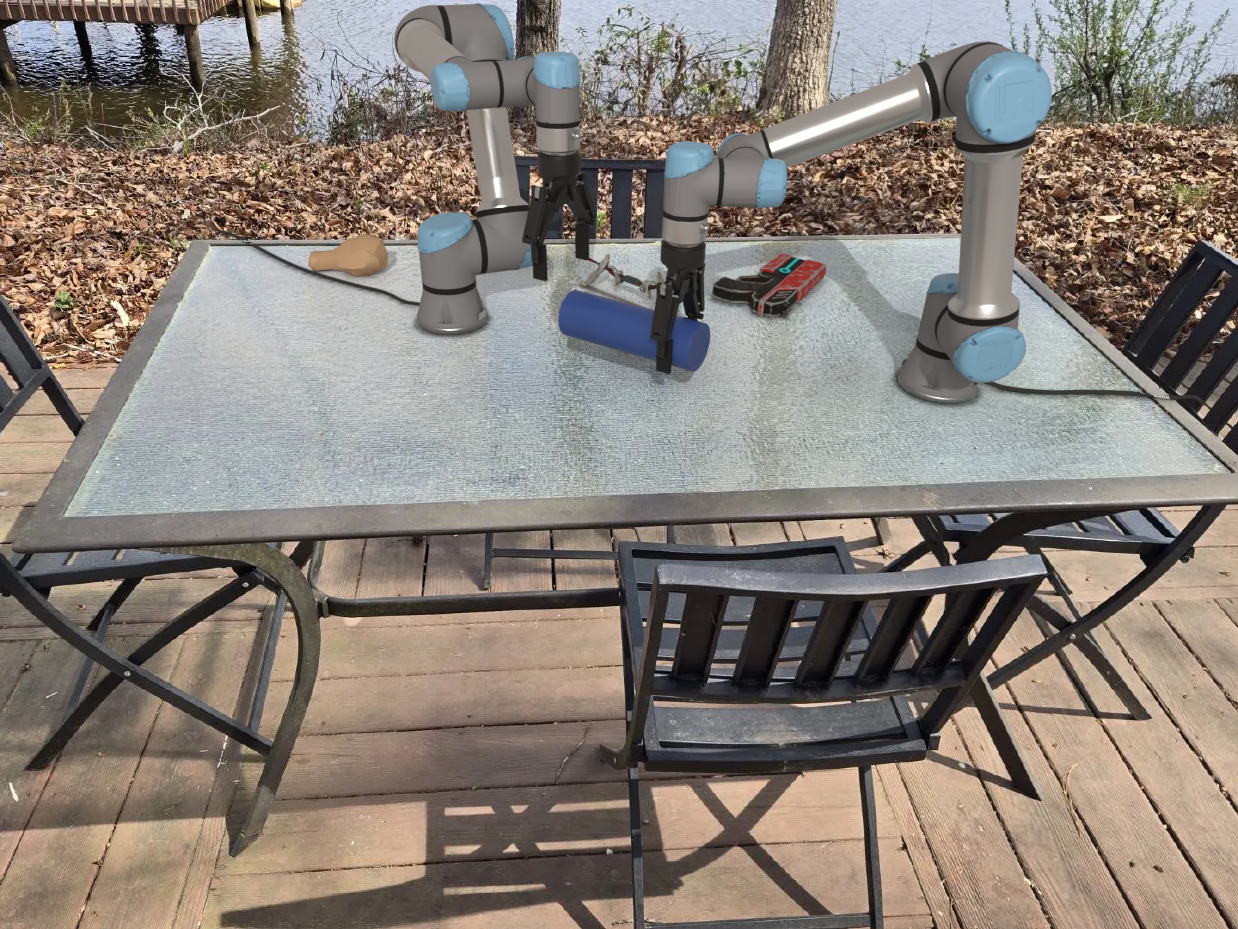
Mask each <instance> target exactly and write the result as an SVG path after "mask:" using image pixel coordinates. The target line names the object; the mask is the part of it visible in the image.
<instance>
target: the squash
mask: <svg viewBox="0 0 1238 929" xmlns="http://www.w3.org/2000/svg"><path fill="white" fill-rule="evenodd" d="M388 263H389V253H388V251H387V248H386V246H385V242H384V239H382V238H381V237H378V236H374V235H372V234H366V233H363V234H361V235H358V236H355V237H349V238H346V239H345V240H344V241H342V242H341V243H340V245H339V246H336V247H335V248H333V249H327V250H313V251H310V253H309V256H308V267H310V270H311V271H314V272H319V271H323V270H335V271H342V272H343V273H345V274H347V275H348V274H349V275H351V276H353V277H369V276H371V275H374V274H375V273H377V272H379V271H381V270H384V269H385V268H386V267H388Z"/></svg>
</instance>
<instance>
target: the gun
mask: <svg viewBox="0 0 1238 929" xmlns="http://www.w3.org/2000/svg"><path fill="white" fill-rule="evenodd" d="M826 273H827V264H826V263H823V262H820V261H816V260H812V259H802V258H799V257H795V256H793V255H792V254H791V253H784V252H780V253H778V254H777V255H775V256H774V257H773V258H771V259H770V260H768V261H767V262H766V263H765V264H763V265H762V266H761V267H760V269H759V271H758V273H757V274H756V275H753V274H752V275H751V274H750V275H740V276H738V277H737V278H735V279H734V278H731V277H727V276H722V277H720V279H717V281H715V282H713V283H712V291H711V297H713V298H714V299H716V300H719V301H723V302H727V303H730V304H750V305H749V308H750V310H751V312H753V313H755V314H757V315H758V316H760V317H761V316H765V317H770V318H771V317H777V316H780V317H784V318H787V317H788V315H789V311H788V310H790V309H791V308H792V307H793V306H794V305H795V304H798V303H799V302H801V301H802V300H803V299H804V298H805V297H807V296H808V295H809V294H810V293H811V292H812V291H813V290H814V289H815V287H817V285H818V284H820V283H821V282H822V280H823V279H824V278H825V276H826Z"/></svg>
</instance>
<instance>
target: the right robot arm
mask: <svg viewBox="0 0 1238 929" xmlns="http://www.w3.org/2000/svg"><path fill="white" fill-rule="evenodd" d="M1052 96H1053V90H1052V83H1051V80H1050V77H1049V75H1048V73H1047V71H1046V70H1045V69H1044V68H1043V66H1042V65H1041V64H1039V63H1038V61H1037V60H1035V59H1034V58H1033V57H1032V56H1030V55H1028V54H1026V53H1024V52H1022V51H1017V50H1013V49H1011V48H1008V47H1006V46H1004V45H1003V44H1001V43H998V42H994V41H989V40H986V41H984V40H983V41H975V42H974V41H973V42H971V43H966V44H963V45H961V46H958V47H955V48H953V49H949V50H946V51H944V52H942V53H940V54H937V55H935V56H933V57H929V58H927V59H925V60H922V61H919V62H917V63H915V64H913V65H912V66H911V68H910V69H909V71H908V72H907V73H906V74H904V75H903V74H902V75H901V76H898V77H896V78H893V79H891V80H889V81H886V82H882V83H880V84H878V85H877V84H876V85H875V86H872V87H869V88H867V89H865V90H861V91H859V92H857V93H854V94H852V95H849V96H847V97H844V98H841V99H838V100H836V101H833V102H829V103H828V104H826V105H823V106H820V107H818V108H815V109H812V110H809V111H807V112H804V113H802V114H799V115H796V116H794V117H792V118H791V117H790V118H788V119H786V120H784V121H780V122H778V123H776V124H773V125H771V126H768V127H764V128H762V129H760V130H757V131H754V132H751V133H749V134H745V133H742V132H741V133H739V132H735V133H732V134H730V135H728V136H726V137H725V138H724V139H723V140H722V141H721V142H720V144H719V146H718V147H717V151H716V156H715V154H714V149H713V147H712V145H711V144H708V143H706V142H703V141H702V142H698V141H695V140H693V141H692V140H691V141H690V140H686V141H685V140H683V141H678V142H674V143H672V144H671V145H670V146H669V147H668V149H667V151H666V154H665V165H664V171H663V199H662V220H661V235H660V237H661V239H662V240H661V242H660V258H659V259H660V262H661V264H662V265H663V266H665V268H666V269H667V270H666V275H665V279H664V281H665V282H664V283H660V282H658V283H657V286H656V289H655V290H656V292H655V293H656V295H655V296H656V298H655V304H654V309H653V310H654V316H653V322H652V329H651V336H650V338H651V339H654V340H657V356H656V361H655V371H656V372H659V373H661V374H666V375H671V374H672V367H673V366H672V351H673V339H671V335H672V331H673V327H674V324H675V320H676V316H677V312H678V309H679V308H680V305H681V304H682V306H683V310H684V314H685V316H684V317H683V318H687V319H691V320H695V321H699V320H700V321H702V320H703V319H704V316H705V314H704V312H705V309H706V303H705V302H706V301H705V272H706V271H705V270H706V249H707V243H706V242H705V241H706V240H707V234H708V232H709V230H710V226H709V224H708V221H709V210H710V207H717V208H719V207H724V208H753V209H757V208H758V209H760V210H761V209H768V208H778V207H780V206H781V205H782V204H783V203H784V201H785V198H786V194H787V187H788V169H789V168H791V167H794V166H797V165H799V164H802V163H805V162H808V161H810V160H813V159H816V158H818V157H821V156H823V155H827V154H829V153H832V152H834V151H835V152H836V151H838V150H840V149H844V148H846V147H849V146H851V145H854V144H857V143H860V142H862V141H865V140H867V139H870V138H873V137H876V136H879V135H881V134H884V133H887V132H890V131H892V130H895V129H898V128H901V127H903V126H905V125H908V124H909V125H910V124H911V123H914V122H917V121H922V122H924V123H925V124H929V123H932V122H935V121H938V120H940V119H945V118H955V143H954V148H955V150H956V151H957V152H958V153H959V154H960V155H962V156H963V158H964V165H963V183H962V204H961V205H962V206H961V224H960V226H961V227H960V242H959V243H960V244H959V246H960V247H959V264H958V272H949V273H947V272H946V273H941V274H938V275H935V276H934V277H933V278H931V281H930V282H929V285H928V289H927V290H926V292H925V294H926V296H925V301H924V306H923V309H922V314H921V318H920V323H919V327H918V332H917V336H916V341H915V345H914V346H913V348H912V350H911V351H910V353H909V355H908V357H907V358H906V359H903V360H902V362H901V367H900V369H899V372H898V376H897V383H898V385H899V387H901V389H902V390H904V391H905V392H906V393H907V394H909V395H911V396H913V397H915V398H918V399H921V400H923V401H926V402H927V401H928V402H931V403H935V404H942V405H943V404H945V405H954V404H963V403H966V402H969V401H971V400H972V399H974V397H975V396H976V395H977V391H978V387H979V384H983V385H987V386H990V387H993V388H995V389H996V388H997V389H999V390H1002V391H1003V390H1004V391H1008V392H1015V393H1022V394H1031V395H1033V394H1035V395H1050V396H1051V395H1052V396H1053V395H1054V396H1055V395H1056V396H1057V395H1059V396H1062V395H1063V396H1064V395H1065V396H1068V395H1069V396H1071V395H1109V396H1110V395H1112V396H1113V395H1115V396H1130V397H1142V398H1149V399H1150V398H1151V399H1156V398H1155V397H1154V396H1153V395H1151V394H1143V393H1140V392H1141V391H1138V390H1137V391H1135V390H1121V389H1120V390H1119V389H1039V388H1025V387H1016V386H1010V385H1005V384H1001V383H998V382H996V381H999V380H1002V379H1003V378H1006V377H1007V376H1009V375H1010V373H1012V372H1013V371H1016V370H1017V368H1018V367H1019V366H1021V363H1022V362H1023V360H1024V359H1025V356H1026V352H1027V343H1026V340H1025V337H1024V334H1023V332H1021V330H1019V318H1020V307H1021V301H1020V299H1019V297H1017V296H1016V295H1015V294H1014V293H1012V290H1013V289H1012V287H1013V278H1014V277H1013V276H1014V266H1015V265H1014V264H1015V254H1016V253H1015V252H1016V242H1017V230H1018V218H1019V207H1020V198H1021V197H1020V195H1021V186H1022V185H1021V184H1022V173H1023V162H1024V155H1025V153H1026V152H1027V151H1029V149H1031V147H1032V146H1034V144H1035V143H1036V138H1037V137H1036V136H1037V130H1038V127H1039V126H1040V125H1041V123H1043V122H1044V121H1045V119H1046V117H1047V115H1048V113H1049V110H1050V108H1051V105H1052V98H1053V97H1052ZM1166 395H1167V396H1169V398H1170V399H1171V400H1170V401H1183V400H1193V401H1195V402H1196V403H1197V404H1199V405H1205V402H1204V400H1203V399H1202V398H1201V397H1199V396H1198V395H1195V394H1176V395H1174V394H1166ZM1165 397H1166V396H1165Z"/></svg>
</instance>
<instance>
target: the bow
mask: <svg viewBox="0 0 1238 929" xmlns="http://www.w3.org/2000/svg"><path fill="white" fill-rule="evenodd" d="M573 254H575V251H573ZM587 261H588V262H590V263H593V264H596V265H597V268H595V270H593V271H592V272H591V273H590V274H589V275H588V276H587V278H586V280H583V279H582V280H579V281H578V284H579V285H580V286H583V287H589V288H591V289H593V290H596V291H599V292H600V293H604V294H606V295H609V296H612V297H614V298H617V299H618V300H620V301H623V302H626V303H629V304H633V305H637V306H641V307H643V306H642V305H638V304H636V303H634V302H631V301H628V300H626V299H623V298H621V297H618V296H616V295H613V294H611V293H609V292H606V291H604V290H601V289H598V288H596V287H593V286H590V285H591V284H594V283H595V281H596V280H597V279H598V278H599V277H600V276H601V275H602V274H603V273H604V272H606V271H607V272H608V273H609V274H610V275H611V276H612V277H613V282H612V287H613V288H616V287H619V285H621V284H624V283H628V284H630V285H633V286H636V287H638V290H639V292H640V293H642V294H645V295H644V296H645V298H644V299H645V300H651V299H652V293H651V291H653V290H656V286H657V283H658V282H660V283H664V282H665V279H664V278H663V274H662V271H657V272H656V278H655V279H656V281H655V280H651V281H650V280H649V278H646V279H645V280H641V279H640V278H637V277H635V276H632V275H629V274H626V275H625V274H624V270H623V269H620V270H618V269H617V268H616V267H615V266H614V265H612V264H611V265H610V262H611V254H610V253H607V254H605V255H604V258H603V259H602V260H601V261H600V262H598V261H596V260H595V259H593V258H591V257H589V260H587ZM677 316H680V317H683V316H682V315H681V312H680V309H679V308H678V312H677Z"/></svg>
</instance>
